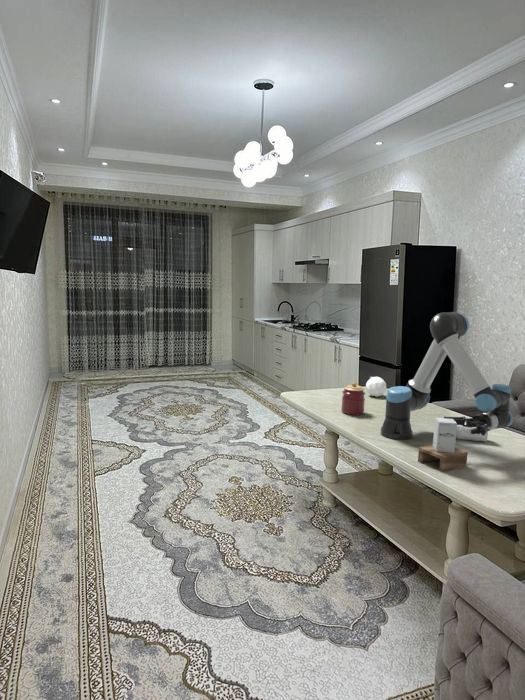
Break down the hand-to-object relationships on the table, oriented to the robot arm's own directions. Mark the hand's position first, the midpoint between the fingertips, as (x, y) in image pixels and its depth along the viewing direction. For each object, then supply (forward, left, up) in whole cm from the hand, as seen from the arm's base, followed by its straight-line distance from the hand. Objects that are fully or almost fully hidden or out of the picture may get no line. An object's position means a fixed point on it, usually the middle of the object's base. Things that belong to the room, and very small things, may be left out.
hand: (450, 427), depth 201 cm
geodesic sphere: (-105, +58, -15) cm, 121 cm away
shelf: (0, -3, -15) cm, 15 cm away
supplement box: (0, -3, -9) cm, 10 cm away
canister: (-79, +16, -15) cm, 82 cm away
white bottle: (-17, +35, -15) cm, 41 cm away
